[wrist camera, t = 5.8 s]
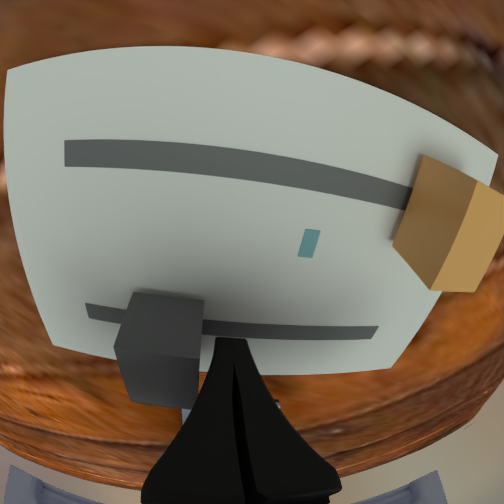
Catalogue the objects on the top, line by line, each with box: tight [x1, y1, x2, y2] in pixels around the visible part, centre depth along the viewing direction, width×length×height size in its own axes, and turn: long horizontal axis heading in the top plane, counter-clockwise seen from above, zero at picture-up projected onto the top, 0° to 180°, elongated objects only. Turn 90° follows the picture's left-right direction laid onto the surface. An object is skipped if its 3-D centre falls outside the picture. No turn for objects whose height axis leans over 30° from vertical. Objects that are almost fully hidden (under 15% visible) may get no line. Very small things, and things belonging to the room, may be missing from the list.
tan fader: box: [392, 155, 504, 292], centre depth 8 cm, size 4×3×3 cm
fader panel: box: [4, 46, 498, 375], centre depth 12 cm, size 15×22×2 cm
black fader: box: [113, 292, 204, 410], centre depth 11 cm, size 4×3×3 cm
